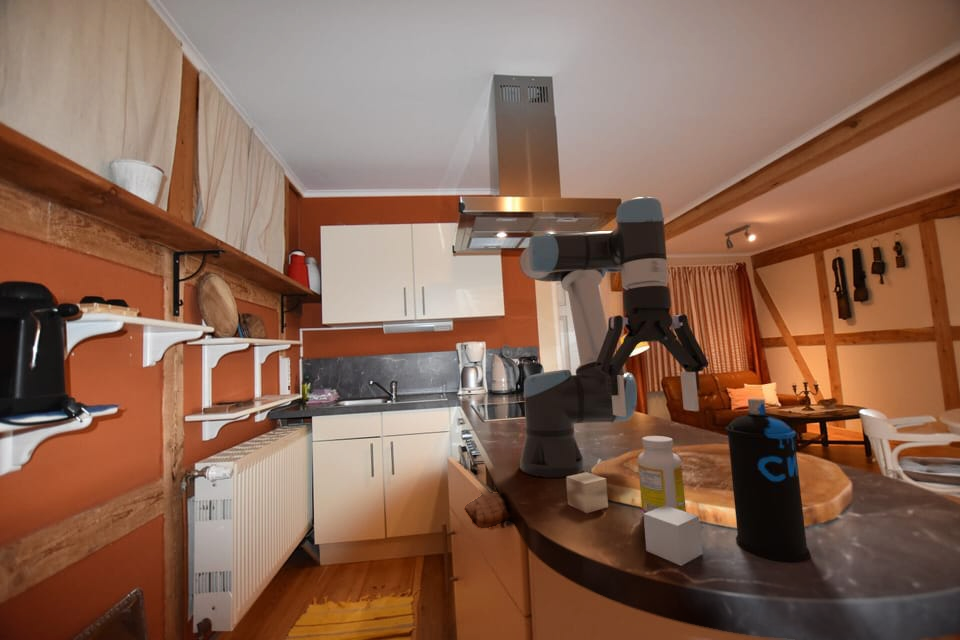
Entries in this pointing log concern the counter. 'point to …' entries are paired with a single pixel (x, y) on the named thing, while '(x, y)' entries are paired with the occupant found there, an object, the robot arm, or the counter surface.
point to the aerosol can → (766, 486)
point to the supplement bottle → (660, 475)
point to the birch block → (587, 492)
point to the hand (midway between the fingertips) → (656, 413)
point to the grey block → (673, 534)
